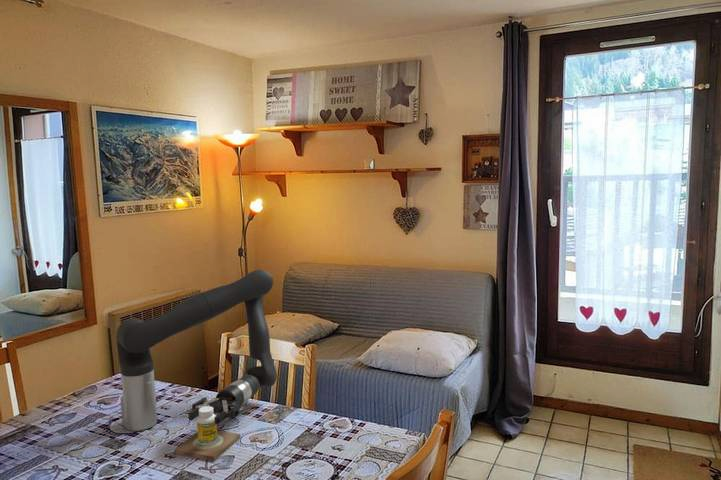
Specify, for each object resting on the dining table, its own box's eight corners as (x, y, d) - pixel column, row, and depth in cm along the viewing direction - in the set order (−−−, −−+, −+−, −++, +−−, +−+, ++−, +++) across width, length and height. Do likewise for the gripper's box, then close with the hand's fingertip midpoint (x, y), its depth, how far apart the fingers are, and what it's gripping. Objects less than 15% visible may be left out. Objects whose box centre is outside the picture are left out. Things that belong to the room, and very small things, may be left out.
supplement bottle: (214, 434, 154) (212, 403, 153) (220, 442, 150) (218, 409, 149) (195, 440, 151) (193, 408, 150) (201, 447, 147) (199, 415, 146)
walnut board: (174, 453, 147) (174, 449, 146) (202, 431, 159) (202, 427, 159) (214, 461, 142) (214, 456, 142) (240, 438, 154) (240, 434, 154)
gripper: (214, 381, 165) (180, 403, 149) (254, 387, 160) (223, 409, 145) (215, 404, 166) (182, 428, 150) (255, 410, 161) (225, 435, 146)
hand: (202, 419), depth 148 cm, fingers open, 8 cm apart
